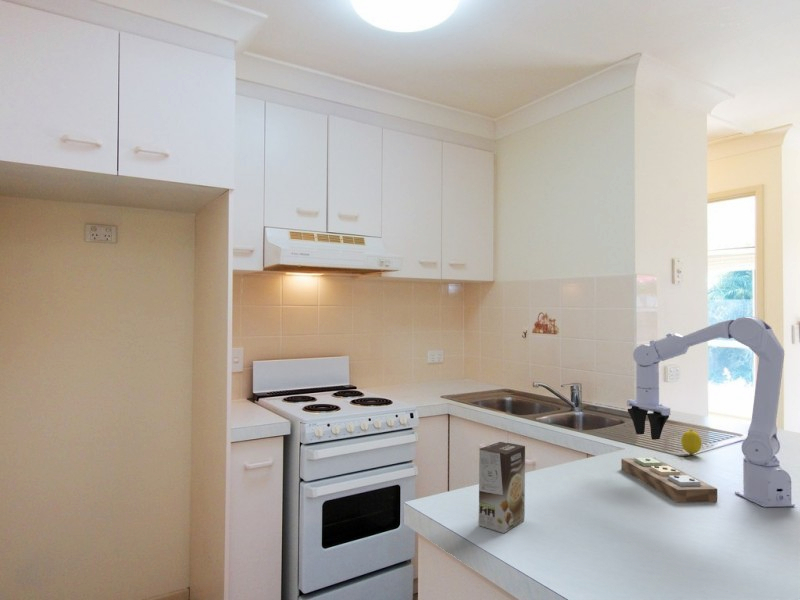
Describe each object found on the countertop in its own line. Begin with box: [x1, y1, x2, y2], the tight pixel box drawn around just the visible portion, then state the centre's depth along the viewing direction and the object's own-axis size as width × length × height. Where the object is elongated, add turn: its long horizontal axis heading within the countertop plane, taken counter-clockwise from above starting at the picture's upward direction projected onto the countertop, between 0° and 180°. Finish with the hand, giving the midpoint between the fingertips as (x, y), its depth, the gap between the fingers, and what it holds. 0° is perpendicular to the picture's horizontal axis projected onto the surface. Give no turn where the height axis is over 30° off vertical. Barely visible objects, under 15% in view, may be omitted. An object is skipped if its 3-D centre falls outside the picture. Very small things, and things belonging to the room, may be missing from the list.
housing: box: [620, 457, 718, 503], centre depth 136 cm, size 26×10×3 cm, turn 5°
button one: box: [633, 456, 663, 467], centre depth 144 cm, size 5×5×3 cm
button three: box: [650, 465, 681, 476], centre depth 136 cm, size 5×5×3 cm
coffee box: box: [478, 441, 526, 534], centre depth 110 cm, size 9×6×16 cm
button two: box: [668, 474, 701, 486], centre depth 128 cm, size 5×5×3 cm
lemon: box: [681, 429, 702, 456], centre depth 164 cm, size 6×6×8 cm
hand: (647, 436), depth 144 cm, fingers open, 5 cm apart
